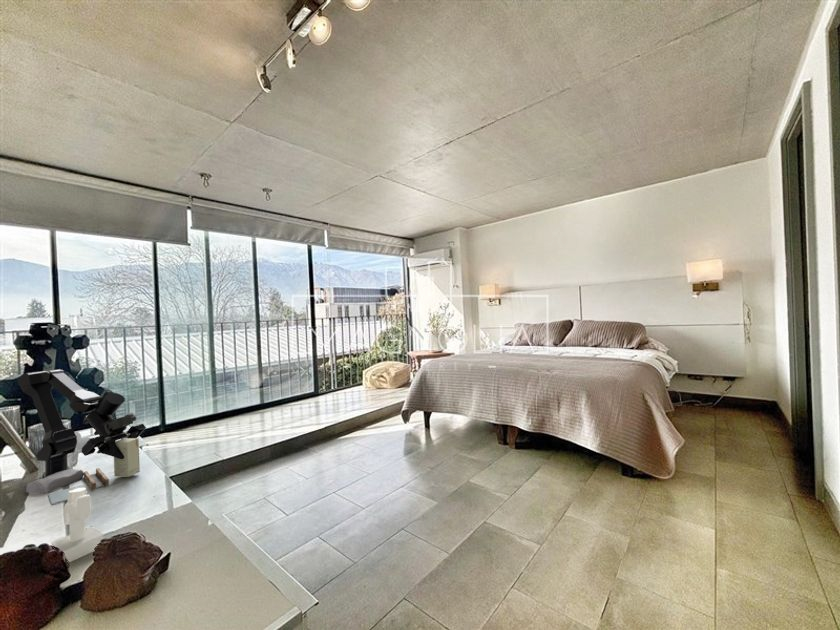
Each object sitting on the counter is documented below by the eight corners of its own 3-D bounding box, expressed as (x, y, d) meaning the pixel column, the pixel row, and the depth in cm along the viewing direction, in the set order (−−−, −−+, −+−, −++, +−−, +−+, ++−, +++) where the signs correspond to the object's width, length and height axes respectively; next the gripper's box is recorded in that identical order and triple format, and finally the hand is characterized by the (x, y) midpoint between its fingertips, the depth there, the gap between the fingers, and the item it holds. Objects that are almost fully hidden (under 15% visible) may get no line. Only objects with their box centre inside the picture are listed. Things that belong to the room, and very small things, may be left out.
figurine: (89, 539, 87) (88, 479, 88) (106, 550, 83) (105, 486, 83) (48, 557, 81) (47, 492, 81) (64, 570, 76) (63, 501, 77)
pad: (48, 495, 112) (48, 494, 112) (82, 485, 118) (82, 484, 118) (52, 505, 105) (52, 503, 105) (88, 494, 112) (88, 492, 112)
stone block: (21, 499, 114) (47, 494, 113) (19, 484, 114) (45, 479, 113) (63, 483, 126) (87, 478, 125) (61, 470, 126) (85, 465, 125)
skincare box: (140, 472, 126) (140, 438, 126) (128, 477, 121) (128, 442, 122) (125, 471, 127) (125, 437, 127) (113, 476, 123) (112, 441, 123)
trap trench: (83, 477, 125) (83, 471, 125) (99, 473, 128) (98, 467, 128) (92, 489, 115) (92, 483, 115) (108, 485, 118) (108, 479, 118)
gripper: (88, 415, 116) (116, 450, 114) (141, 402, 134) (166, 431, 132) (68, 438, 117) (96, 473, 115) (124, 422, 135) (149, 451, 133)
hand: (129, 455), depth 124 cm, fingers closed on skincare box, 4 cm apart
